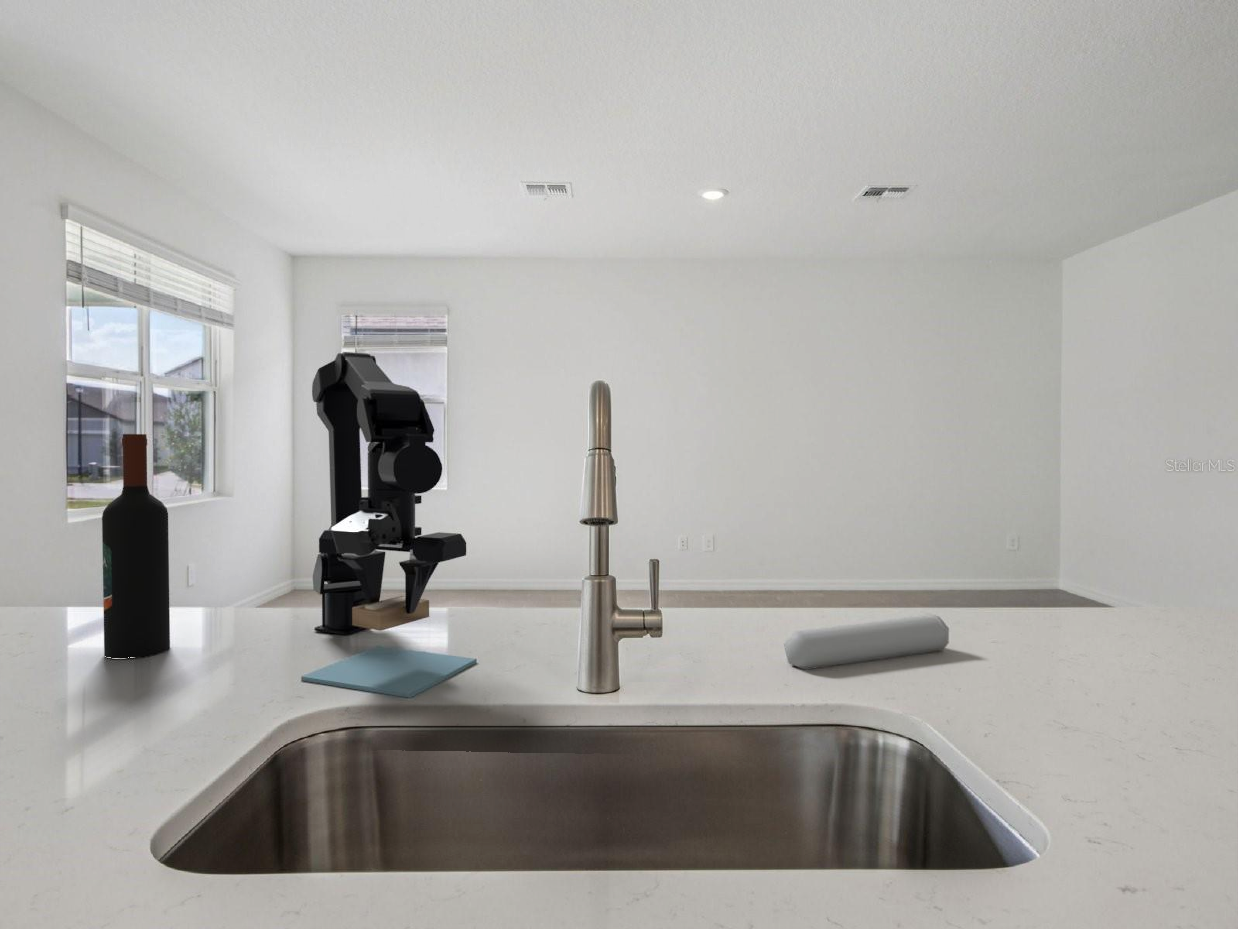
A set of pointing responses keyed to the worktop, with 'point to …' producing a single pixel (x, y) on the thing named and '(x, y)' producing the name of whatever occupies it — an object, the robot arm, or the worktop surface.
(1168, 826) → the worktop surface
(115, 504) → the wine bottle
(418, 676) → the mat
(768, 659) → the worktop surface
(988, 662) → the worktop surface
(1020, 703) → the worktop surface
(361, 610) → the brown cardboard box
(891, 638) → the tube
